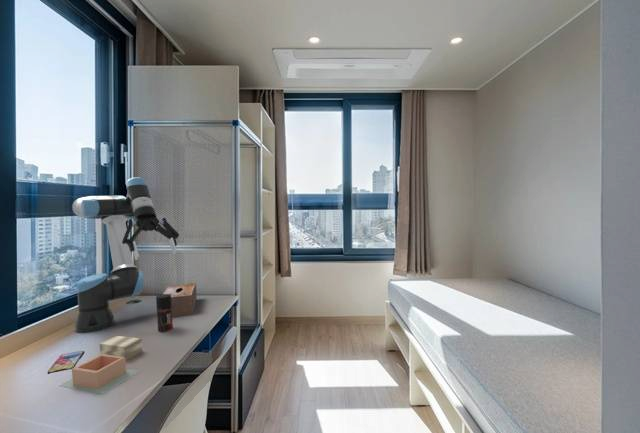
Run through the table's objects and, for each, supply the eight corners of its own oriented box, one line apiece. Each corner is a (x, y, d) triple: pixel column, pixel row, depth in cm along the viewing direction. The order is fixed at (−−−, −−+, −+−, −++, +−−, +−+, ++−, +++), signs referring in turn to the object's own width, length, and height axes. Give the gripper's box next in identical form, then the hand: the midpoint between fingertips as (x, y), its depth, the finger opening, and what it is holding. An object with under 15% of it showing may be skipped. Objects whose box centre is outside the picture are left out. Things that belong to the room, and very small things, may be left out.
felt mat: (58, 387, 100) (58, 385, 100) (98, 366, 112) (98, 364, 112) (103, 395, 95) (103, 393, 95) (139, 372, 107) (139, 371, 107)
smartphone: (85, 350, 124) (73, 367, 110) (85, 352, 124) (73, 370, 110) (61, 354, 121) (46, 373, 107) (61, 356, 121) (46, 375, 107)
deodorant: (167, 332, 140) (165, 298, 139) (154, 331, 141) (153, 297, 141) (175, 327, 146) (173, 294, 145) (164, 326, 147) (162, 293, 146)
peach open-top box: (72, 384, 100) (71, 369, 100) (102, 368, 110) (101, 354, 109) (97, 389, 97) (96, 372, 97) (126, 372, 107) (125, 357, 106)
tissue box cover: (169, 303, 183) (168, 285, 182) (196, 300, 187) (195, 283, 186) (160, 318, 158) (159, 298, 158) (192, 314, 162) (191, 295, 162)
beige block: (100, 358, 118) (99, 343, 118) (117, 349, 125) (116, 335, 125) (126, 362, 115) (125, 346, 115) (142, 352, 122) (141, 338, 121)
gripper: (109, 206, 121) (121, 255, 113) (177, 204, 138) (192, 246, 130) (106, 217, 125) (117, 265, 117) (172, 214, 143) (186, 255, 135)
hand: (156, 255), depth 124 cm, fingers open, 13 cm apart
